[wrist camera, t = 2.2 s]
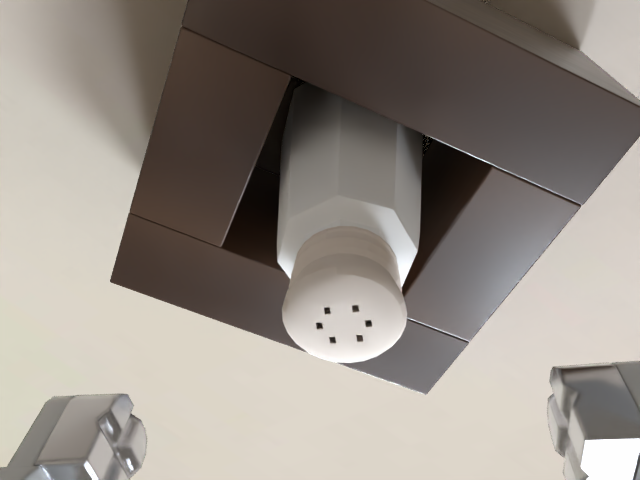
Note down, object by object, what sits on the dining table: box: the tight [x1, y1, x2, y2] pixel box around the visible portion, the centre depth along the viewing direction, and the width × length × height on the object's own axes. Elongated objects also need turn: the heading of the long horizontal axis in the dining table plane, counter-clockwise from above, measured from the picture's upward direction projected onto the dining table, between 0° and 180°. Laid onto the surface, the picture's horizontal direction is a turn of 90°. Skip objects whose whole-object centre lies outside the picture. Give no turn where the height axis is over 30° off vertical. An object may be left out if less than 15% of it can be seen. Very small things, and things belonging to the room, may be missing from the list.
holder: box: [110, 0, 640, 395], centre depth 19 cm, size 12×12×6 cm
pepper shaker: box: [277, 82, 423, 363], centre depth 17 cm, size 5×5×11 cm
